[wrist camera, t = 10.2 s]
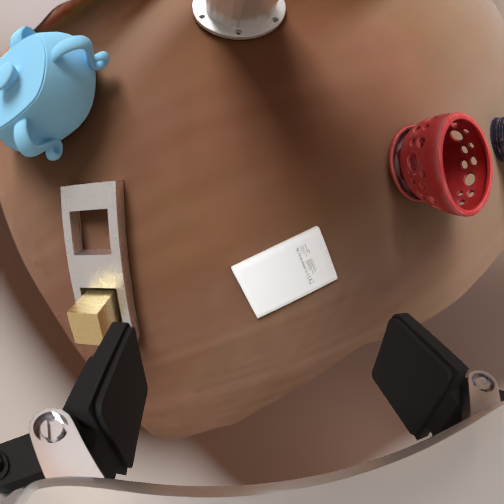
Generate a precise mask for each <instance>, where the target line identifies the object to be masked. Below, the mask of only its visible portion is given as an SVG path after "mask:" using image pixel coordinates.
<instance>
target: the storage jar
mask: <svg viewBox="0 0 504 504" xmlns="http://www.w3.org/2000/svg"><path fill="white" fill-rule="evenodd" d="M490 138H491V144H492V147H493V150H494V153H495V155H496V156H497V158H498V159H499V160H500V161H503V162H504V117H503V118H494V119H493V120H492V122H491V125H490Z"/></svg>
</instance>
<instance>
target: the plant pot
mask: <svg viewBox="0 0 504 504" xmlns="http://www.w3.org/2000/svg"><path fill="white" fill-rule="evenodd" d="M453 123H457V124H453ZM464 129H467V130H468V131H469V132H466V131H465V130H464ZM452 130H456V131H458V132H460V133H461V134H462V136H463V139H462V140H457V139H455V138H454V137H453V136H452V135H451V131H452ZM469 143H472V144H473V145H474V148H472V147H471V146H470V144H469ZM462 146H465V147H466V148H467V150H468V153H464V152H463V151H462ZM472 157H475V158H476V160H477V164H476V165H473V164H472V162H471V158H472ZM463 160H465V161H466V162H467V164H468V167H467V169H464V168H463V167H462V161H463ZM389 168H390V172H391V175H392V178H393V180H394V182H395V184H396V186H397V188H398V189H399V190H400V192H401V193H402V194H403V195H404V196H405V197H407V198H408V199H410V200H412V201H416V202H425V203H426V204H428V205H430V206H432V207H434V208H436V209H439V210H441V211H444V212H447V213H450V214H454V215H459V216H464V217H469V216H473V215H475V214H476V213H478V212H479V211H480V210H481V209H482V208H483V206H484V205H485V203H486V201H487V199H488V196H489V193H490V190H491V184H492V159H491V154H490V149H489V146H488V143H487V140H486V138H485V136H484V134H483V132H482V130H481V128H480V127H479V125H478V124H477V123H476V122H475V121H474V120H473V119H472V118H471V117H470V116H468V115H466V114H464V113H459V112H456V113H447V114H442V115H437V116H434V117H430V118H428V119H425V120H423V121H421V122H420V123H418V124H417V125H409V126H406V127H403V128H402V129H400V130H399V131H398V132H397V133H396V135H395V136H394V138H393V140H392V143H391V146H390V150H389ZM470 173H472V174H474V176H475V181H474V183H473V184H472V185H470V186H467V185H466V184H465V178H466V176H467V175H468V174H470ZM471 192H474V195H473V196H472V197H468V195H469V193H471ZM459 193H463V194H462V195H461V196H458V194H459ZM461 202H464V204H463V205H458V204H459V203H461Z"/></svg>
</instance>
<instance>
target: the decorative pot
mask: <svg viewBox="0 0 504 504" xmlns="http://www.w3.org/2000/svg"><path fill="white" fill-rule="evenodd" d="M22 39H23V40H22ZM108 62H109V55H108V53H107V52H104V51H102V52H99V53H97V54H95V55H94V49H93V45H92V42H91V41H90V39H89V38H87V37H85V36H81V35H79V36H72V35H69V34H66V33H61V32H44V33H35V31H34V30H33V29H31V28H30V27H28V26H24V27H22V28H20V29H19V30H17V31H16V32H15V33H14V34H13V36H12V37H11V40H10V50H9V51H7V52H6V53H5V54H4V55H3V56H2V57H1V58H0V139H1V140H2V141H3V142H4V143H5V144H6V145H7V146H9V147H10V148H12V149H14V150H16V151H19V152H20V153H21V154H22V155H24V156H26V157H34V156H37V155H39V154H41V153H43V152H44V151H45V152H46V156H47V158H48V159H49V160H51V161H54V160H57V159H59V158H60V157H61V155H62V152H63V145H62V142H61V140H62V139H64V138H65V137H67V136H68V135H69V134H71V133H72V132H73V131H74V130H75V129H77V128H78V127H79V126H80V125H81V124H82V123H83V121H84V120H85V119H86V117H87V115H88V114H89V112H90V109H91V107H92V104H93V99H94V94H95V85H96V72H95V71H97V70H100V69H102V68H104V67H105V66H106V65H107V64H108Z"/></svg>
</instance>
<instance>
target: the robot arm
mask: <svg viewBox="0 0 504 504" xmlns="http://www.w3.org/2000/svg"><path fill="white" fill-rule="evenodd" d="M192 10H193V15H194V17H195V20H196V21H197V22H198V24H199V25H200V26H201V27H202V28H204V29H205V30H206V31H208V32H210V33H212V34H213V35H216V36H219V37H222V38H227V39H236V40H245V39H253V38H258V37H261V36H264V35H266V34H268V33H270V32H272V31H273V30H274V29H276V28H277V27H278V26H279V25H280V23H281V22H282V20H283V18H284V16H285V12H286V4H285V1H284V0H193V3H192ZM237 34H239V35H237ZM468 369H469V368H468V367H467V366H466V365H465V364H464V363H463V362H462V361H461V360H460V359H458V358H457V357H456V356H455V355H454V354H453V353H452V352H451V351H450V350H449V349H448V348H446V347H445V346H444V345H443V344H442V343H441V342H440V341H439V340H438V339H437V338H436V337H434V336H433V335H432V334H431V333H430V332H429V331H428V330H426V329H425V328H424V327H423V326H422V325H421V324H420V323H419V322H417V321H416V320H415V319H414V318H413V317H412V316H410V315H409V314H408V313H401V314H395V315H393V316H392V318H391V319H390V320H389V322H388V325H387V329H386V332H385V335H384V338H383V341H382V345H381V348H380V351H379V354H378V356H377V359H376V363H375V365H374V368H373V371H372V377H373V379H374V381H375V382H376V383H377V385H378V387H379V388H380V390H381V391H382V392H383V394H384V395H385V397H386V398H387V400H388V401H389V403H390V404H391V406H392V407H393V408H394V410H395V412H396V413H397V414H398V416H399V417H400V419H401V420H402V422H403V423H404V425H405V426H406V428H407V429H408V431H409V432H410V433H411V434H413V435H414V436H415V437H416V439H417V440H419V439H421V438H424V437H426V436H428V434H429V433H430V431H431V433H432V434H433V435H432V437H430V438H428V439H426V440H424V441H421V442H419V443H417V444H415V445H412V446H410V447H408V448H405V449H402V450H400V451H397V452H395V453H392V454H389V455H387V456H384V457H381V458H378V459H375V460H372V461H369V462H366V463H363V464H360V465H356V466H353V467H349V468H345V469H342V470H338V471H334V472H329V473H326V474H321V475H316V476H311V477H306V478H300V479H294V480H288V481H281V482H274V483H265V484H254V485H241V486H174V485H161V484H151V483H142V482H132V481H124V480H116V479H115V476H116V473H117V474H122V475H126V473H127V467H128V468H132V466H133V462H134V456H135V450H136V445H137V440H138V435H139V430H140V425H141V420H142V415H143V410H144V406H145V401H146V397H147V382H146V378H145V373H144V369H143V365H142V360H141V355H140V350H139V345H138V340H137V335H136V330H135V328H134V327H131V326H130V324H129V323H127V322H112V323H111V325H110V327H109V329H108V330H107V332H106V334H105V336H104V338H103V339H102V341H101V343H100V345H99V347H98V348H97V350H96V352H95V354H94V356H92V357H90V358H89V359H88V360H87V362H86V364H85V366H84V368H83V370H82V372H81V374H80V376H79V377H78V379H77V381H76V383H75V385H74V387H73V389H72V391H71V393H70V396H69V397H68V399H67V401H66V403H65V406H64V408H63V410H60V409H58V408H48V409H43V410H41V411H39V412H38V413H36V414H35V415H34V416H33V417H32V419H31V421H30V424H29V434H26V435H24V436H21V437H18V438H15V439H12V440H10V441H7V442H4V443H1V444H0V504H504V391H502V390H499V389H498V384H497V382H496V380H495V379H494V377H493V376H491V375H490V374H488V373H486V372H484V371H478V370H477V371H473V372H471V373H470V374H469V376H468V378H466V377H465V374H466V373H467V370H468Z"/></svg>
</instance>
